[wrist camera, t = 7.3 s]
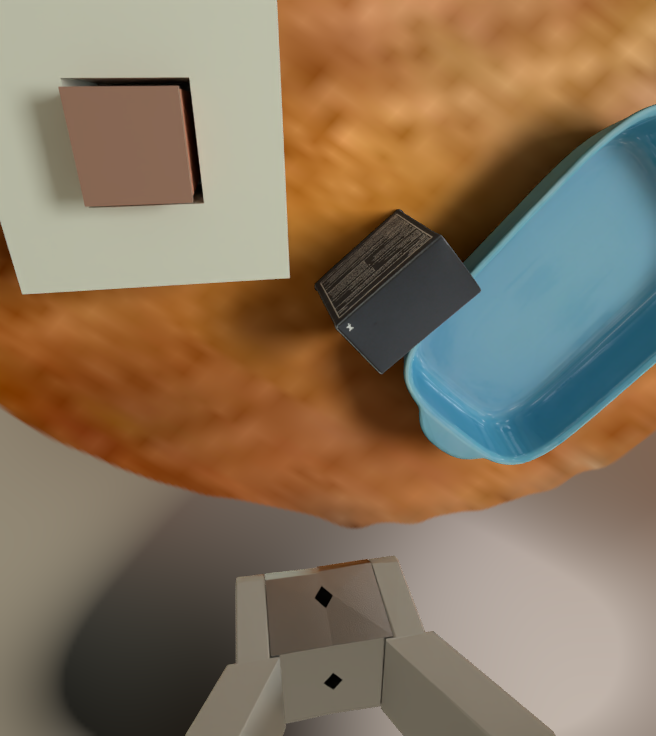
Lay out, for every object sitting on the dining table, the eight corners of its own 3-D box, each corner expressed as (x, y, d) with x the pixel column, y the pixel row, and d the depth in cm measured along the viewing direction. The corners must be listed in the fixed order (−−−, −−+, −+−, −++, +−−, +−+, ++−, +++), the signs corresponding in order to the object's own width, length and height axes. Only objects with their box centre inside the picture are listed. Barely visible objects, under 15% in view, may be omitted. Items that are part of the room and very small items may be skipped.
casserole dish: (636, 45, 43) (705, 35, 37) (739, 220, 53) (808, 236, 46) (344, 356, 52) (359, 390, 46) (476, 458, 61) (504, 498, 55)
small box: (354, 330, 51) (381, 380, 42) (311, 284, 48) (330, 327, 39) (438, 257, 49) (486, 293, 40) (398, 205, 46) (440, 231, 37)
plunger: (105, 91, 38) (58, 86, 27) (192, 90, 38) (177, 85, 28) (122, 180, 40) (84, 206, 30) (202, 177, 41) (192, 202, 31)
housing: (-10, -14, 34) (-92, -54, 26) (270, -9, 37) (282, -44, 28) (61, 260, 43) (17, 300, 34) (283, 248, 46) (295, 283, 37)
